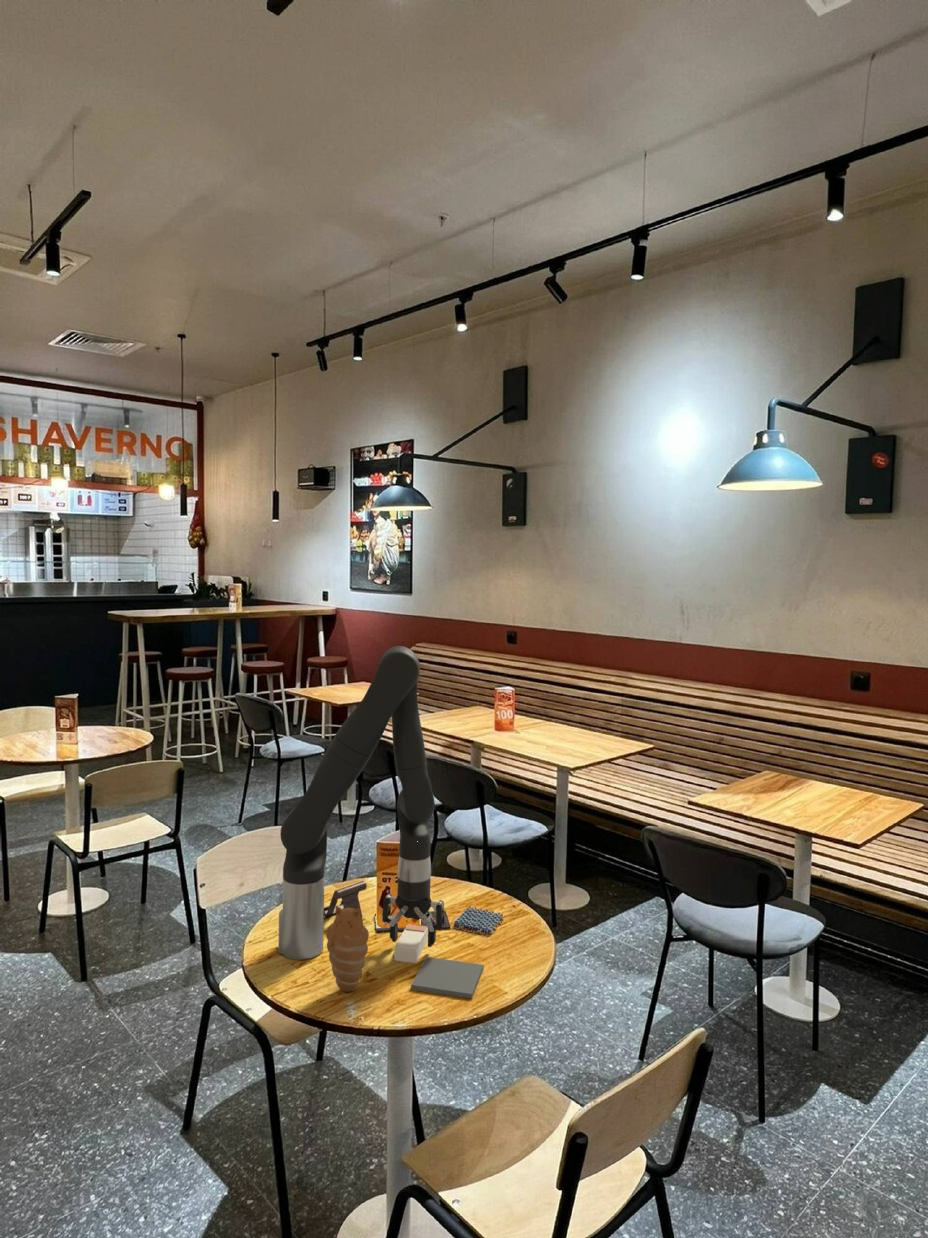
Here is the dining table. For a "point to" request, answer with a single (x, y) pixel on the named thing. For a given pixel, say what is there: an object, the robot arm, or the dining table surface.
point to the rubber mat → (448, 977)
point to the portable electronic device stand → (345, 898)
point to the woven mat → (478, 921)
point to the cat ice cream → (347, 947)
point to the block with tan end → (411, 943)
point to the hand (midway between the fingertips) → (412, 943)
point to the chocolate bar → (446, 925)
